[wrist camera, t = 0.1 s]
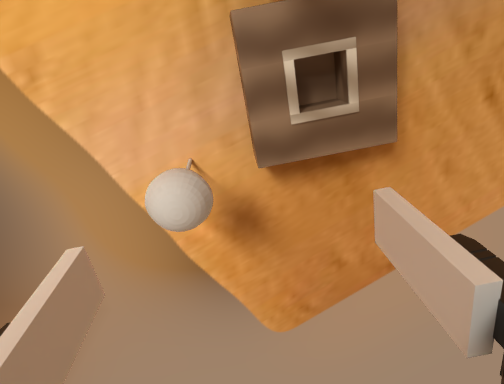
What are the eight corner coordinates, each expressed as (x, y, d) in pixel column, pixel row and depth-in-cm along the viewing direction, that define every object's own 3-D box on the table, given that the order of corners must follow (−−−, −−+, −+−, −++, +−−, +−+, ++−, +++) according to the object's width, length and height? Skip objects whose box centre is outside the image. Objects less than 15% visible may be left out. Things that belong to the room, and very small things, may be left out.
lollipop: (210, 133, 41) (205, 176, 28) (219, 177, 44) (218, 237, 30) (160, 141, 41) (129, 188, 28) (171, 185, 44) (148, 249, 30)
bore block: (229, 15, 37) (230, 10, 32) (375, -13, 37) (398, -22, 32) (254, 155, 43) (258, 169, 38) (378, 131, 43) (398, 142, 38)
